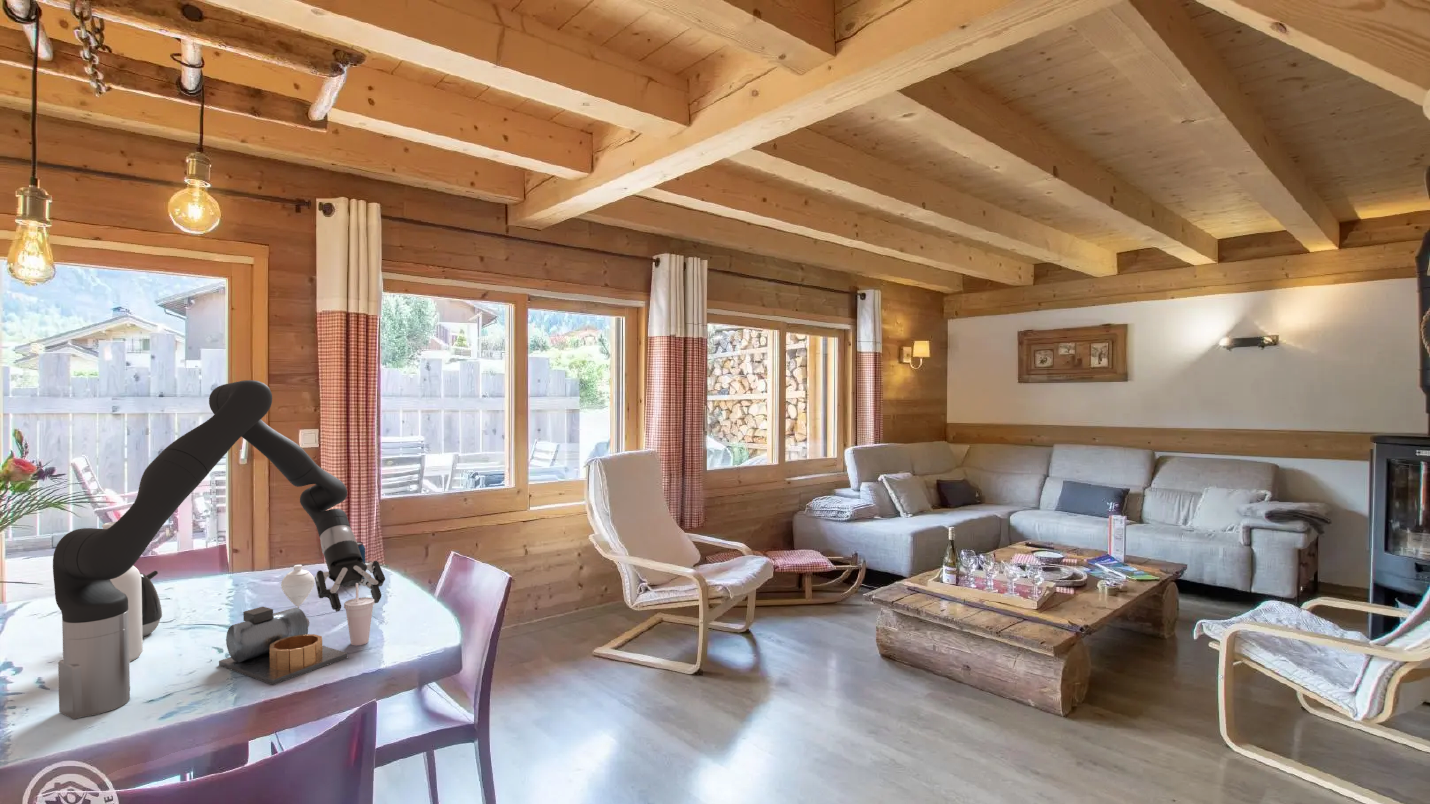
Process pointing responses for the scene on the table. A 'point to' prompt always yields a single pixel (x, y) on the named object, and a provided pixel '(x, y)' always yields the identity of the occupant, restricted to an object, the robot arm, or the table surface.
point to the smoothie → (359, 618)
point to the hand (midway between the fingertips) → (358, 605)
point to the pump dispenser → (150, 604)
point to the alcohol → (131, 605)
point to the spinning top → (297, 585)
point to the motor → (276, 646)
